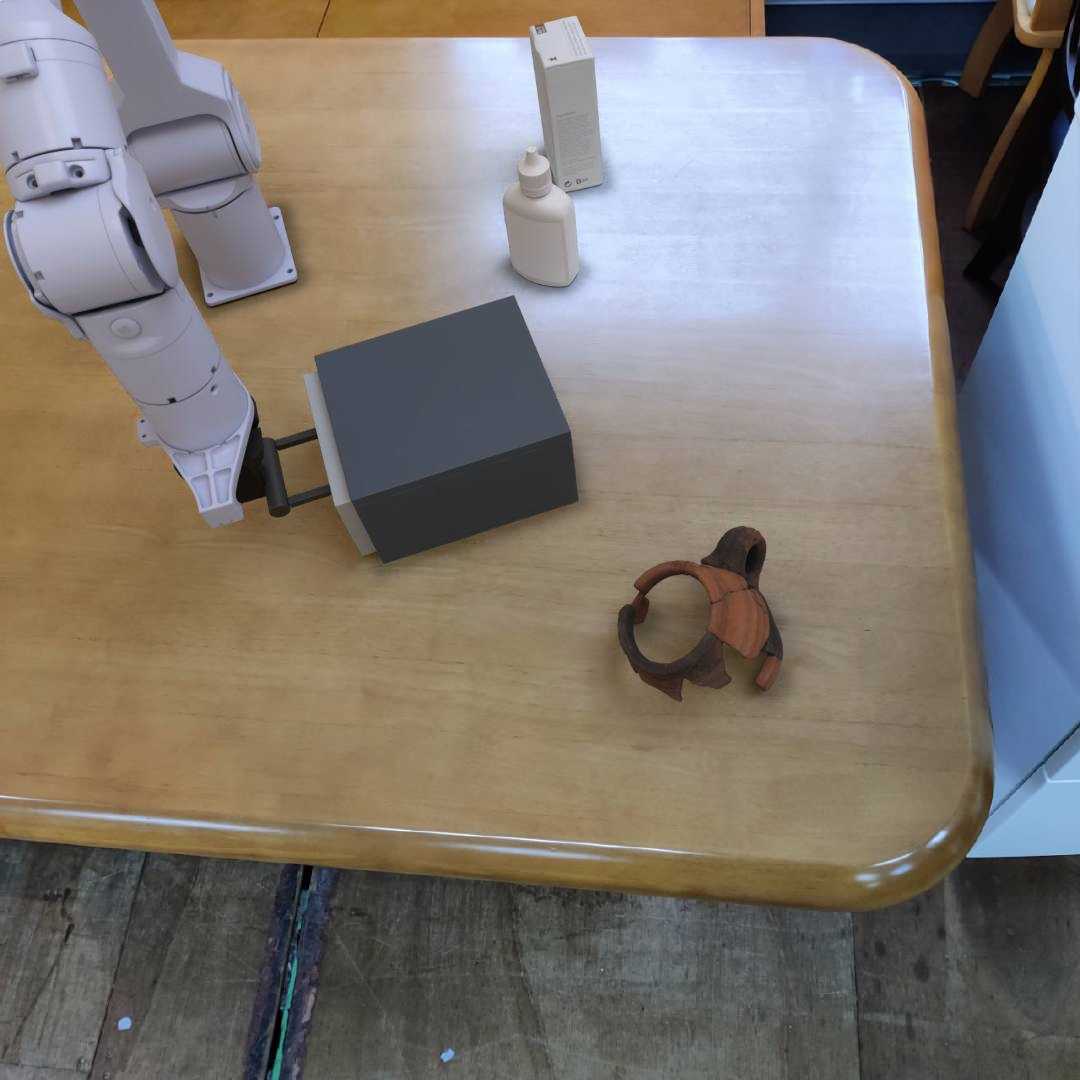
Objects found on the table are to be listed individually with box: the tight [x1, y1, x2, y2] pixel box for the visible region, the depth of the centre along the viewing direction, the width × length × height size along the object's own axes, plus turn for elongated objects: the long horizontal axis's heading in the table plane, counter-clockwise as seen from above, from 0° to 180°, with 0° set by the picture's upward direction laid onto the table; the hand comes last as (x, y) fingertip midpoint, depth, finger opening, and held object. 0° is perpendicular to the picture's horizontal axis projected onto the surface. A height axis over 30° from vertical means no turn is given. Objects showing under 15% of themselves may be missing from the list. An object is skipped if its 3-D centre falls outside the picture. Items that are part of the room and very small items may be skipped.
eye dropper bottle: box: [502, 145, 581, 287], centre depth 74 cm, size 4×6×12 cm
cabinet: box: [313, 294, 579, 564], centre depth 67 cm, size 15×13×9 cm
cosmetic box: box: [528, 15, 604, 193], centre depth 80 cm, size 6×4×12 cm
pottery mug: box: [617, 525, 784, 703], centre depth 60 cm, size 12×9×8 cm
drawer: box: [262, 370, 377, 557], centre depth 67 cm, size 18×11×7 cm, turn 108°
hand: (252, 491), depth 66 cm, fingers closed, pressing on drawer
